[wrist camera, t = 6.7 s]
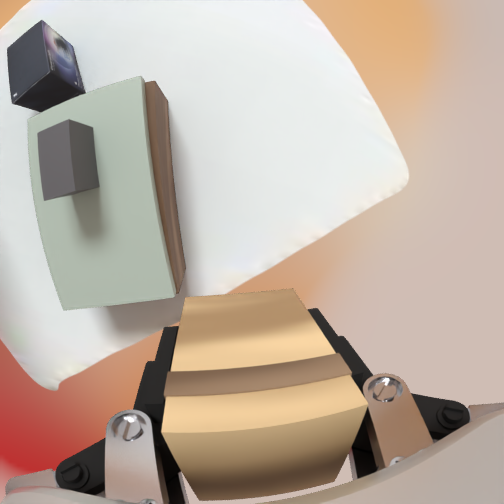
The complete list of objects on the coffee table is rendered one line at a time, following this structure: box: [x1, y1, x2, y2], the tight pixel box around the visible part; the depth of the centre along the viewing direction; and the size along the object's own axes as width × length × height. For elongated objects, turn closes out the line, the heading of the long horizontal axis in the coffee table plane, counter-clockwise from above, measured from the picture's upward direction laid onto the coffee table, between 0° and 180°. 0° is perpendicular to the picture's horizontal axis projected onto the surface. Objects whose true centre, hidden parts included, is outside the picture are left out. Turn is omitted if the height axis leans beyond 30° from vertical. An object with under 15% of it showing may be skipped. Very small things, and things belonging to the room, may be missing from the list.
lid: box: [28, 76, 176, 310], centre depth 20 cm, size 14×22×6 cm, turn 7°
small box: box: [7, 20, 85, 112], centre depth 20 cm, size 11×6×10 cm, turn 23°
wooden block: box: [161, 288, 368, 501], centre depth 8 cm, size 4×4×6 cm
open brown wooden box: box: [145, 81, 186, 294], centre depth 27 cm, size 14×22×8 cm, turn 4°
